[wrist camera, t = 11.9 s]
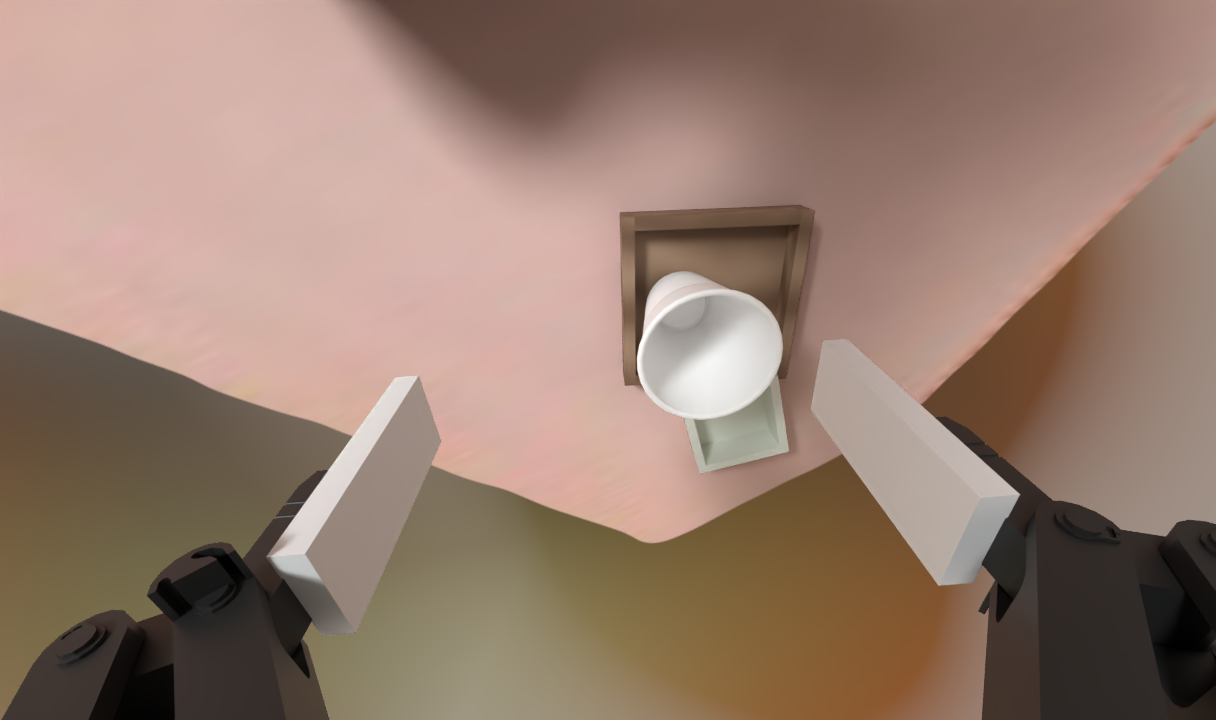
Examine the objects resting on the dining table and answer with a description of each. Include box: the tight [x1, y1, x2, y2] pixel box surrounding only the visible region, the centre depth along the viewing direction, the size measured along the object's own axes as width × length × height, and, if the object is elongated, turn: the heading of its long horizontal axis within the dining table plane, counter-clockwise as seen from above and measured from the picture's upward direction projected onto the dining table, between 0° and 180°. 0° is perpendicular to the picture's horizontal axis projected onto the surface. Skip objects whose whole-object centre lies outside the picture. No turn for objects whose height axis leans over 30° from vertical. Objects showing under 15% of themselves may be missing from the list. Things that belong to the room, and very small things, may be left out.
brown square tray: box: [620, 205, 815, 386], centre depth 39 cm, size 15×15×3 cm
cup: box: [637, 271, 783, 420], centre depth 35 cm, size 10×10×11 cm
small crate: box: [684, 374, 789, 474], centre depth 44 cm, size 9×9×4 cm
